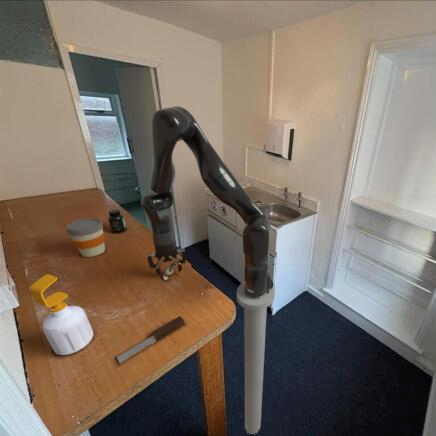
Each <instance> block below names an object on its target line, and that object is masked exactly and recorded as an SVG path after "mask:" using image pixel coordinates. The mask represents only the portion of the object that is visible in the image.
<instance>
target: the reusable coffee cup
mask: <svg viewBox="0 0 436 436" xmlns="http://www.w3.org/2000/svg"><path fill="white" fill-rule="evenodd" d="M103 228H104V225H103V223H102V220H101V219H99V218H96V217H95V218H93V217H92V218H82V219H78V220H74V221H72V222H71V223H68V224H67V226H66V231H67V232H66V233H67V235H68V236H70V240H71V242H72V244H73V246H74V247H75V248H76V249H77V250H78V251H79V254H80V255H81V256H82V257H84V258H92V257H96V256H98V255H101V254H103V253H104V252H105V251H106V245H105V242H106V236H105V230H104V229H103Z"/></svg>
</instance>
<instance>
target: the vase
mask: <svg viewBox="0 0 436 436" xmlns="http://www.w3.org/2000/svg"><path fill="white" fill-rule="evenodd" d="M175 267H176V268H177V269H178V266H177V263H175V262H171V263H170V266H167V267H165V269H164V272H163V274H162V275H163V276H162V277H163V281H167V280H169V276H172V274H174V271H175V270H174V268H175Z"/></svg>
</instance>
